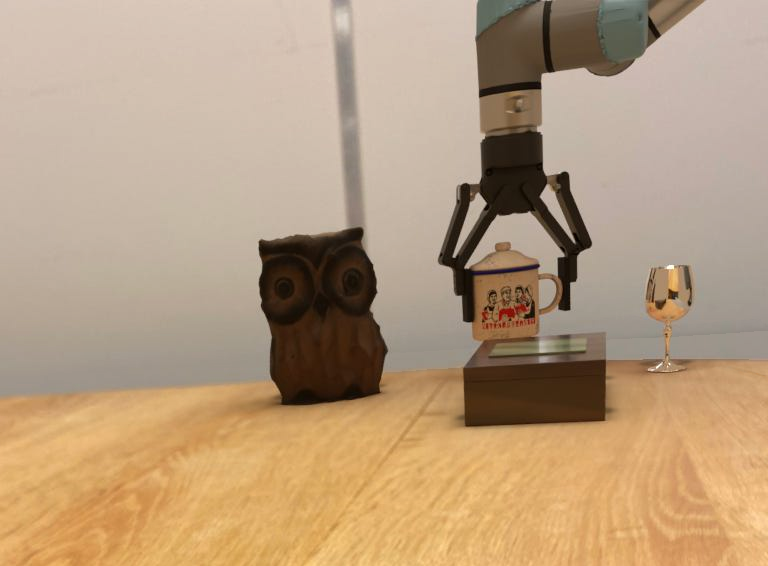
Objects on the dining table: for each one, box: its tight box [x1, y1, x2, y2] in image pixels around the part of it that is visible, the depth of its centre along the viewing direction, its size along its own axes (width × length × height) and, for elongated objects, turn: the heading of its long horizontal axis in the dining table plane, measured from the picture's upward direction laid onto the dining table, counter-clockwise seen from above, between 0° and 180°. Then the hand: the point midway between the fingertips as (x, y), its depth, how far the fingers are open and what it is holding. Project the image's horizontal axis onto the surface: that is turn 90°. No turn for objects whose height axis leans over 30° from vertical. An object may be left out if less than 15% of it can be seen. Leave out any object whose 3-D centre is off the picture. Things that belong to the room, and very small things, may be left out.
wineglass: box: [643, 264, 696, 373], centre depth 129 cm, size 6×6×12 cm
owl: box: [258, 226, 389, 406], centre depth 132 cm, size 13×13×20 cm
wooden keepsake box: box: [462, 331, 607, 427], centre depth 117 cm, size 22×14×6 cm, turn 165°
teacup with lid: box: [468, 241, 563, 342], centre depth 137 cm, size 12×9×12 cm
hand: (516, 316), depth 138 cm, fingers closed on teacup with lid, 12 cm apart
